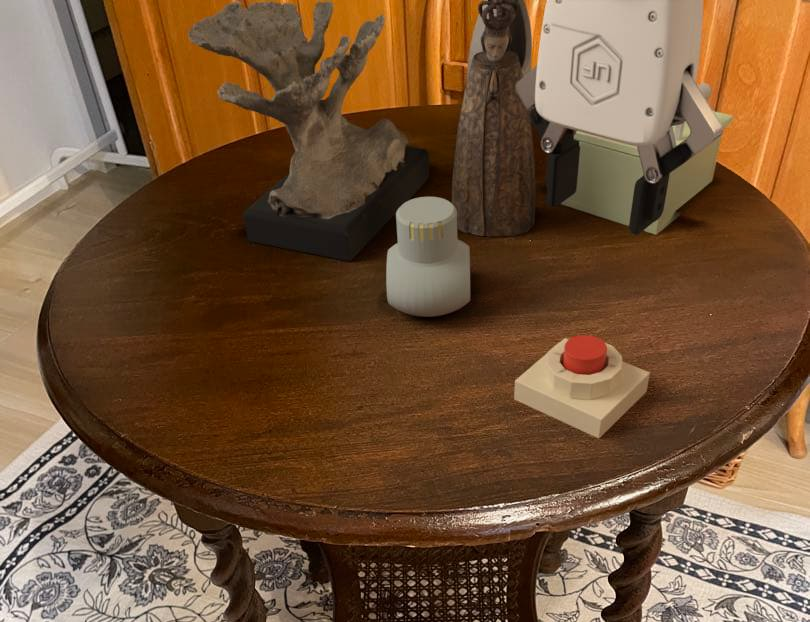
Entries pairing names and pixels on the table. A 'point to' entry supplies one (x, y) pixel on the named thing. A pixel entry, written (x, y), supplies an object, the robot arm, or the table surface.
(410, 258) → the air freshener
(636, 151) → the lid
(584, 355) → the button
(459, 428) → the table surface
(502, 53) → the statue
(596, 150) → the chest
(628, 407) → the control block
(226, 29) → the coral
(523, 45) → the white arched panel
